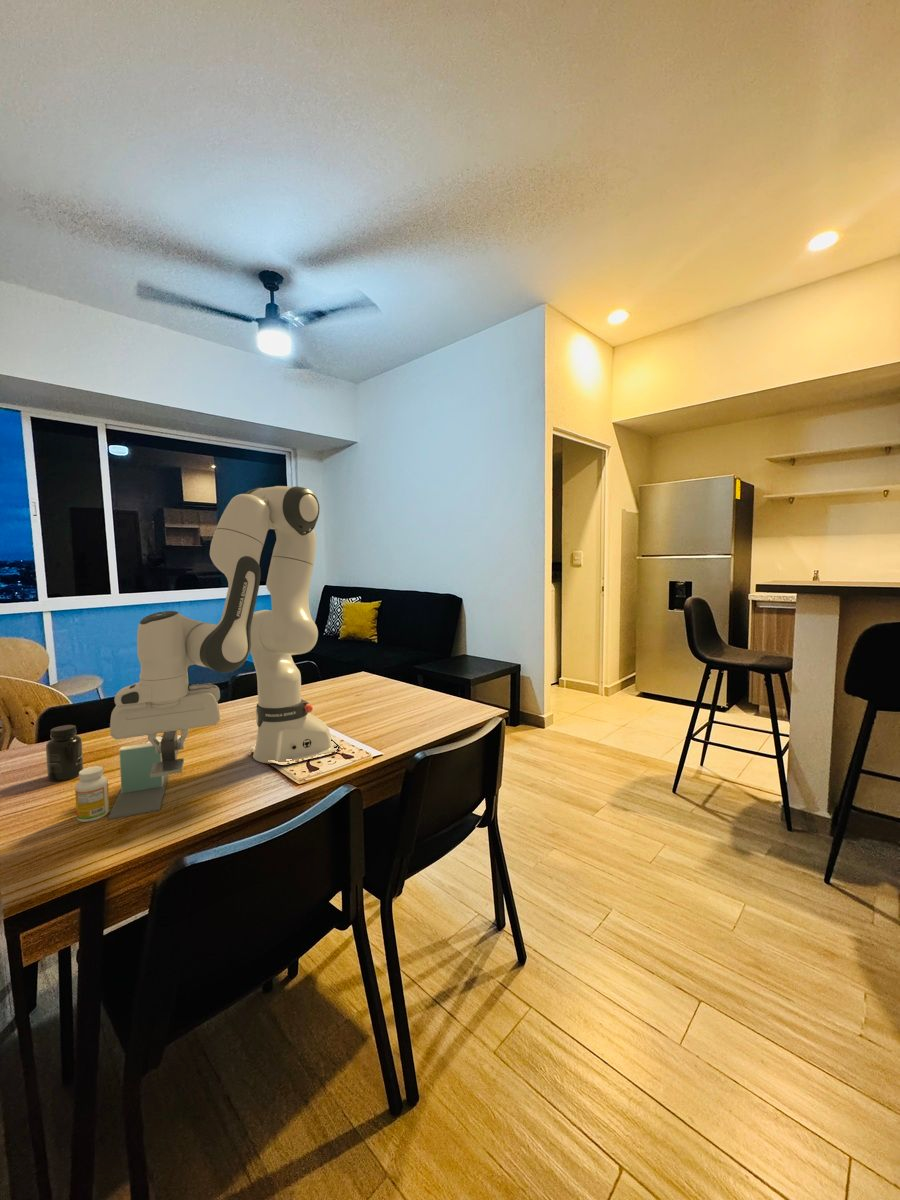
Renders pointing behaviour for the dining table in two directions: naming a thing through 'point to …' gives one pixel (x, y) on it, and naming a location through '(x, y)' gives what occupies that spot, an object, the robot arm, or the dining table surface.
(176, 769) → the grey post on base
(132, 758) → the tile
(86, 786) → the supplement bottle
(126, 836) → the dining table surface
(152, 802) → the mat
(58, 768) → the supplement bottle
